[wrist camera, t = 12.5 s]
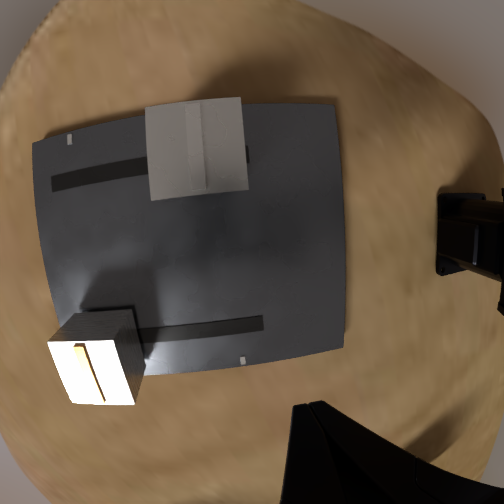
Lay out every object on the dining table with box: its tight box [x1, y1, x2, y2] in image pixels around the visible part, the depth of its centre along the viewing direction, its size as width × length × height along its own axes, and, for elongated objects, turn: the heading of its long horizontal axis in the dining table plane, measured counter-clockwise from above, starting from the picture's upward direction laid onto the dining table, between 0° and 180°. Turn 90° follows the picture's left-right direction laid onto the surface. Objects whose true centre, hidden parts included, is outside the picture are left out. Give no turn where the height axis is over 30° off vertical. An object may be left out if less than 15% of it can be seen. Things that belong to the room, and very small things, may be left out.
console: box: [32, 103, 345, 375], centre depth 17 cm, size 19×16×1 cm
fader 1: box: [47, 309, 146, 405], centre depth 14 cm, size 4×4×4 cm
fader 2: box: [145, 97, 249, 201], centre depth 13 cm, size 4×4×4 cm
